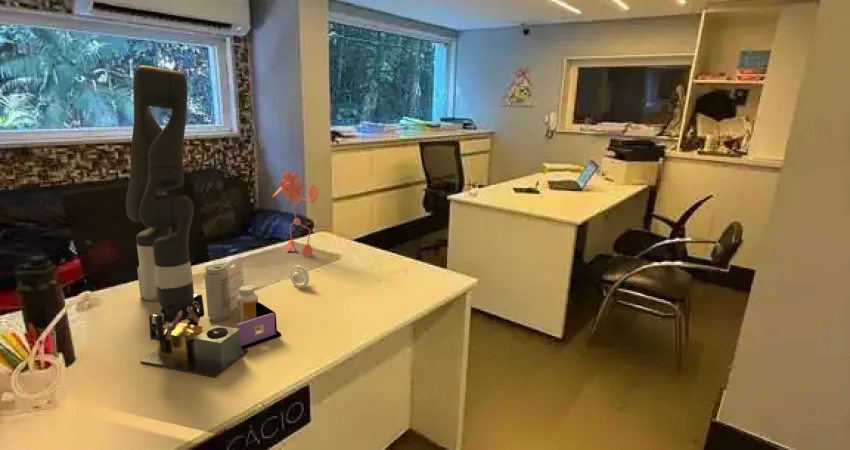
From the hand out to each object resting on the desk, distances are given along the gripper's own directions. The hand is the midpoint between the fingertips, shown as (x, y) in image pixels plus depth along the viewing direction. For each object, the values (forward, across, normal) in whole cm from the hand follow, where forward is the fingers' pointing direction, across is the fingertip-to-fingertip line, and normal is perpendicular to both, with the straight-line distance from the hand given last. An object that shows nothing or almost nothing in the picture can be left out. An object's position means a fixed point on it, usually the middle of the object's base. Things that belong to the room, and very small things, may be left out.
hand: (180, 344), depth 110 cm
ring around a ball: (+3, -48, +5) cm, 48 cm away
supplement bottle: (+3, -21, +4) cm, 22 cm away
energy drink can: (+3, -20, -5) cm, 21 cm away
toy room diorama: (+3, -14, +9) cm, 17 cm away
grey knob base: (+3, 0, +4) cm, 5 cm away
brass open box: (+2, 0, 0) cm, 2 cm away
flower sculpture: (+3, -73, -13) cm, 74 cm away
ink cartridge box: (+3, -27, -7) cm, 28 cm away
